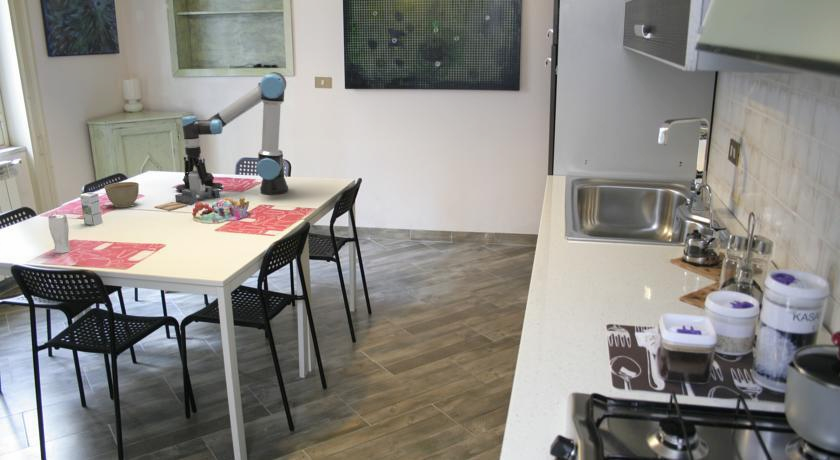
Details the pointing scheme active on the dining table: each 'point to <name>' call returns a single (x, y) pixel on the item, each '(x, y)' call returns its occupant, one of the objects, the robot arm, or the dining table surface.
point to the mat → (171, 206)
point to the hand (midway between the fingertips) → (197, 189)
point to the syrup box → (91, 208)
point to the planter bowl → (122, 193)
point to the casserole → (207, 183)
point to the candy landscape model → (221, 211)
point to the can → (195, 182)
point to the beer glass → (59, 232)
